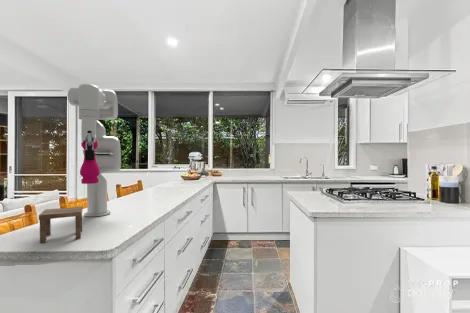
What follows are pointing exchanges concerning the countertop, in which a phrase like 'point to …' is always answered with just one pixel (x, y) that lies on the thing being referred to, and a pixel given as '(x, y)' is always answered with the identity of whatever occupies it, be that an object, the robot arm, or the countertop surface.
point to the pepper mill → (89, 167)
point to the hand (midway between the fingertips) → (89, 159)
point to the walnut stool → (59, 213)
